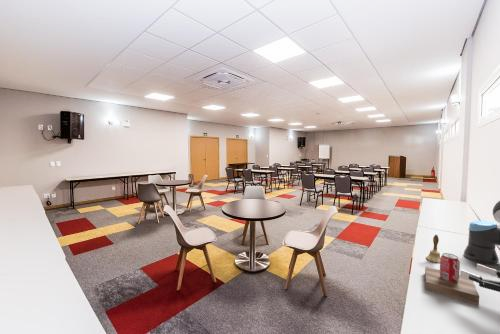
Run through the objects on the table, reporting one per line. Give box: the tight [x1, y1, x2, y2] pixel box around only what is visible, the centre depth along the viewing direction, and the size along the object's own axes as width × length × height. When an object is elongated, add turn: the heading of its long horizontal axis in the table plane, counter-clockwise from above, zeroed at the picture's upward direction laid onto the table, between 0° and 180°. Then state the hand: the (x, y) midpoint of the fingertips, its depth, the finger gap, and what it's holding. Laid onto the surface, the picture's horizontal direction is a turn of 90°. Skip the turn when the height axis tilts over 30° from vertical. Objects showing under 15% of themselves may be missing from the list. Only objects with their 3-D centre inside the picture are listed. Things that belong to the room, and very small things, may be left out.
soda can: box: [439, 252, 461, 282], centre depth 109 cm, size 7×7×12 cm
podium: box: [424, 266, 480, 306], centre depth 109 cm, size 18×18×4 cm
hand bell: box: [425, 234, 441, 264], centre depth 137 cm, size 8×8×16 cm
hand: (468, 269), depth 102 cm, fingers open, 13 cm apart
